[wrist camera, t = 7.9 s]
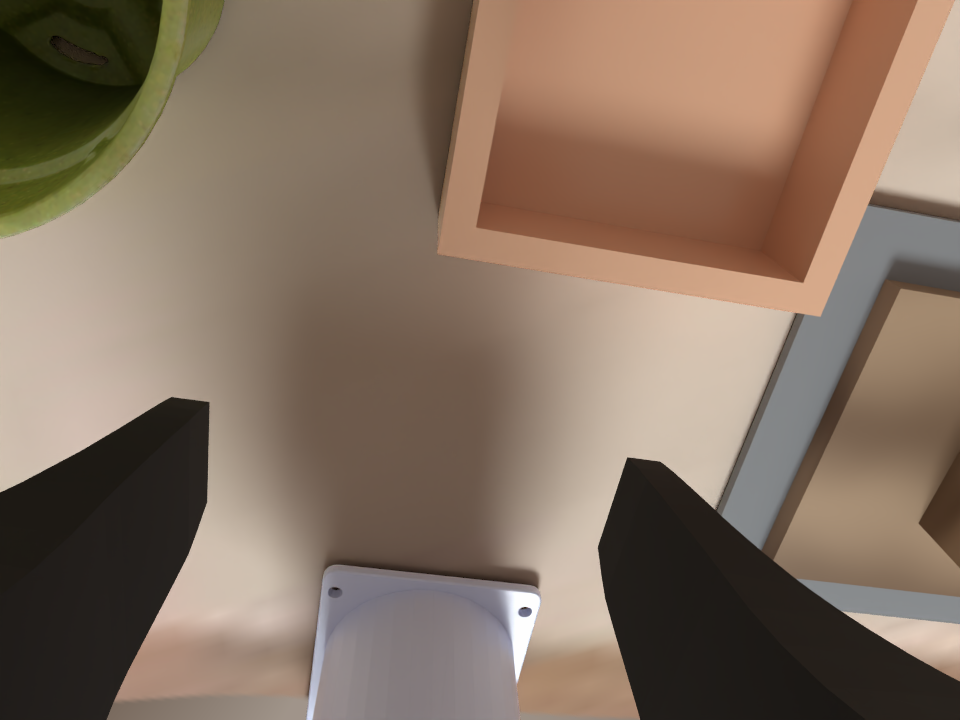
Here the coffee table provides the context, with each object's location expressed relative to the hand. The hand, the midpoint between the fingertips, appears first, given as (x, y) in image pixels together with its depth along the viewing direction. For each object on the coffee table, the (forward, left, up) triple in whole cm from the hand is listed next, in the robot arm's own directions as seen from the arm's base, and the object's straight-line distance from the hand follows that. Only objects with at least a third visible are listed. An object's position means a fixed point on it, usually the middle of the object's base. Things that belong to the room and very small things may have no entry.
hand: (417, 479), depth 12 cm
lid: (-3, -19, -10) cm, 21 cm away
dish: (+7, -5, -10) cm, 13 cm away
